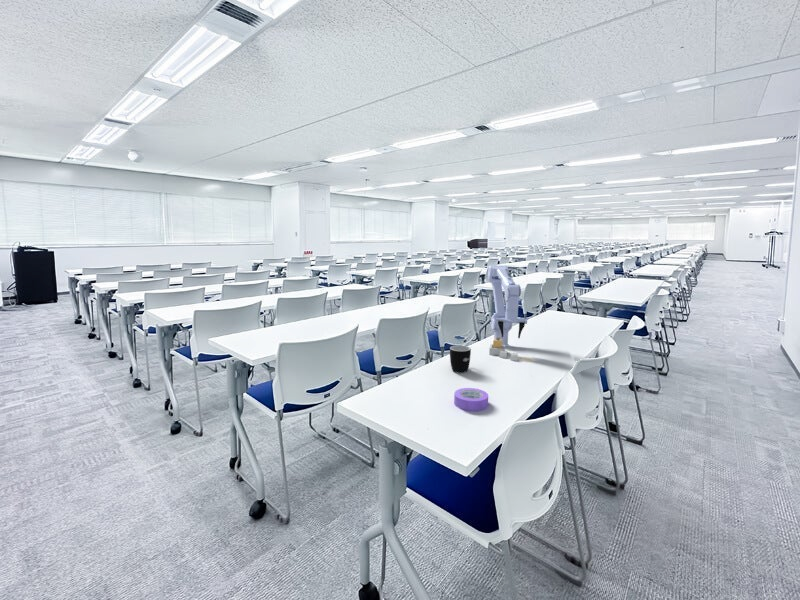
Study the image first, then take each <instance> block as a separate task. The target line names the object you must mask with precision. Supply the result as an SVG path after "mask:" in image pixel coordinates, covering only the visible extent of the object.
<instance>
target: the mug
mask: <svg viewBox="0 0 800 600" xmlns="http://www.w3.org/2000/svg"><path fill="white" fill-rule="evenodd" d="M471 351H472V349H471V347H470V346H468V345H467V346H466V345H461V344H460V345H458V344H457V345H452V346H450V347H449V358H450V359H449V360H450V367H451V370H452V371H453V372H454V373H457V372H458V374H462V373H463V374H464V373H466V372H468V371H469V368H470V362H471V354H472V352H471Z"/></svg>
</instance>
